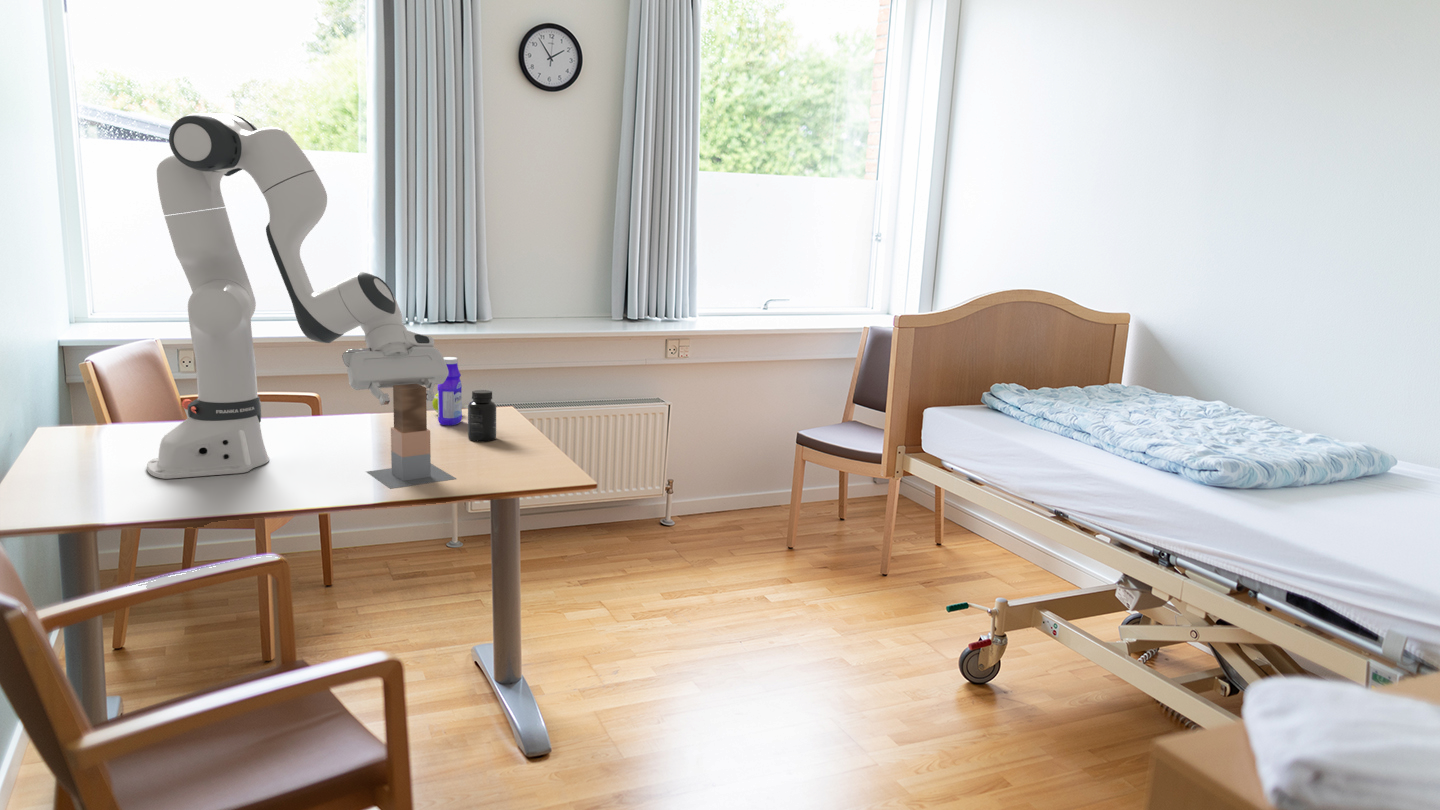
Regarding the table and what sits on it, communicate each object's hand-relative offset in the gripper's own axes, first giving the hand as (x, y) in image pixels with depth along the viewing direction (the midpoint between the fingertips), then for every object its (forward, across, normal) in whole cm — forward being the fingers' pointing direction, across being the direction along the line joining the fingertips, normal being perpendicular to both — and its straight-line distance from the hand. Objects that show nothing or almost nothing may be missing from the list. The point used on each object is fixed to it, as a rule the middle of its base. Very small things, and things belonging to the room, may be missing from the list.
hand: (408, 401), depth 189 cm
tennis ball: (-25, +30, +48) cm, 62 cm away
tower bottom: (+12, 0, +11) cm, 16 cm away
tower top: (+8, 0, +7) cm, 11 cm away
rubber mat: (+12, 0, +11) cm, 16 cm away
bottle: (-18, +27, +41) cm, 52 cm away
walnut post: (+4, 0, +4) cm, 6 cm away
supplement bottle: (-4, +27, +28) cm, 39 cm away
